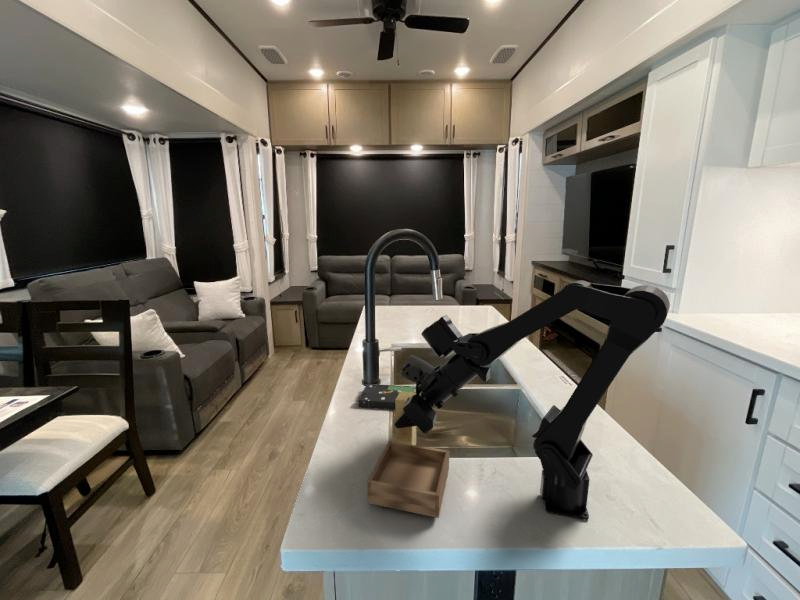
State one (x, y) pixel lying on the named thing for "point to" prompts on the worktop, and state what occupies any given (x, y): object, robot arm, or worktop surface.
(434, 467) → the wooden storage tray
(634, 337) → the robot arm
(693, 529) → the worktop surface
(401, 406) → the brass bar
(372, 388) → the disk drive
